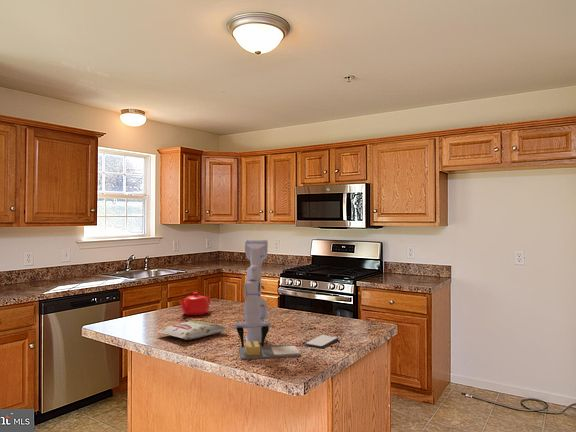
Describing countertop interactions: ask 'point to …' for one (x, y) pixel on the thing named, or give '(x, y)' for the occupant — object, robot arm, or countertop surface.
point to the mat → (271, 352)
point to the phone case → (321, 341)
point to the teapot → (195, 305)
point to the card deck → (252, 348)
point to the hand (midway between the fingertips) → (252, 346)
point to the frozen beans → (192, 329)
